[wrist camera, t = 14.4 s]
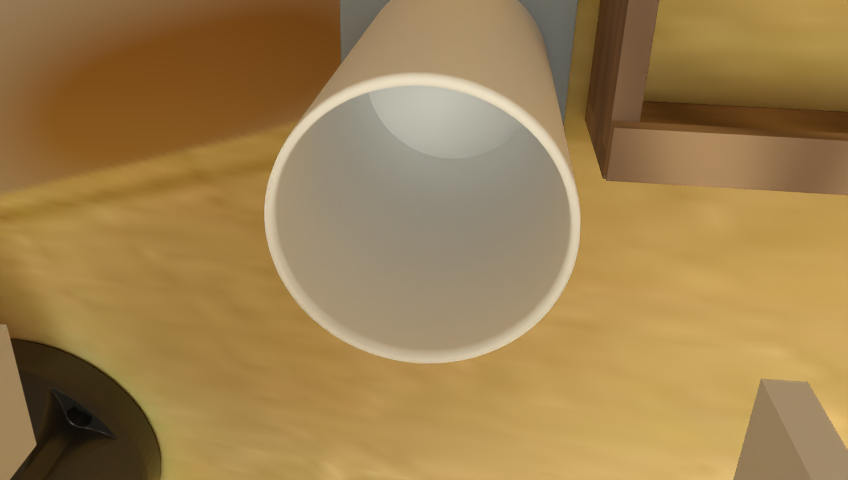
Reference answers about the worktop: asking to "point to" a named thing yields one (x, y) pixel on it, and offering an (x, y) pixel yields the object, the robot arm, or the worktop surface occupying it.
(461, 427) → the worktop surface
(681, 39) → the worktop surface
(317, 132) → the cup
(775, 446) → the robot arm
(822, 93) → the worktop surface
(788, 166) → the crate
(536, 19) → the panel
